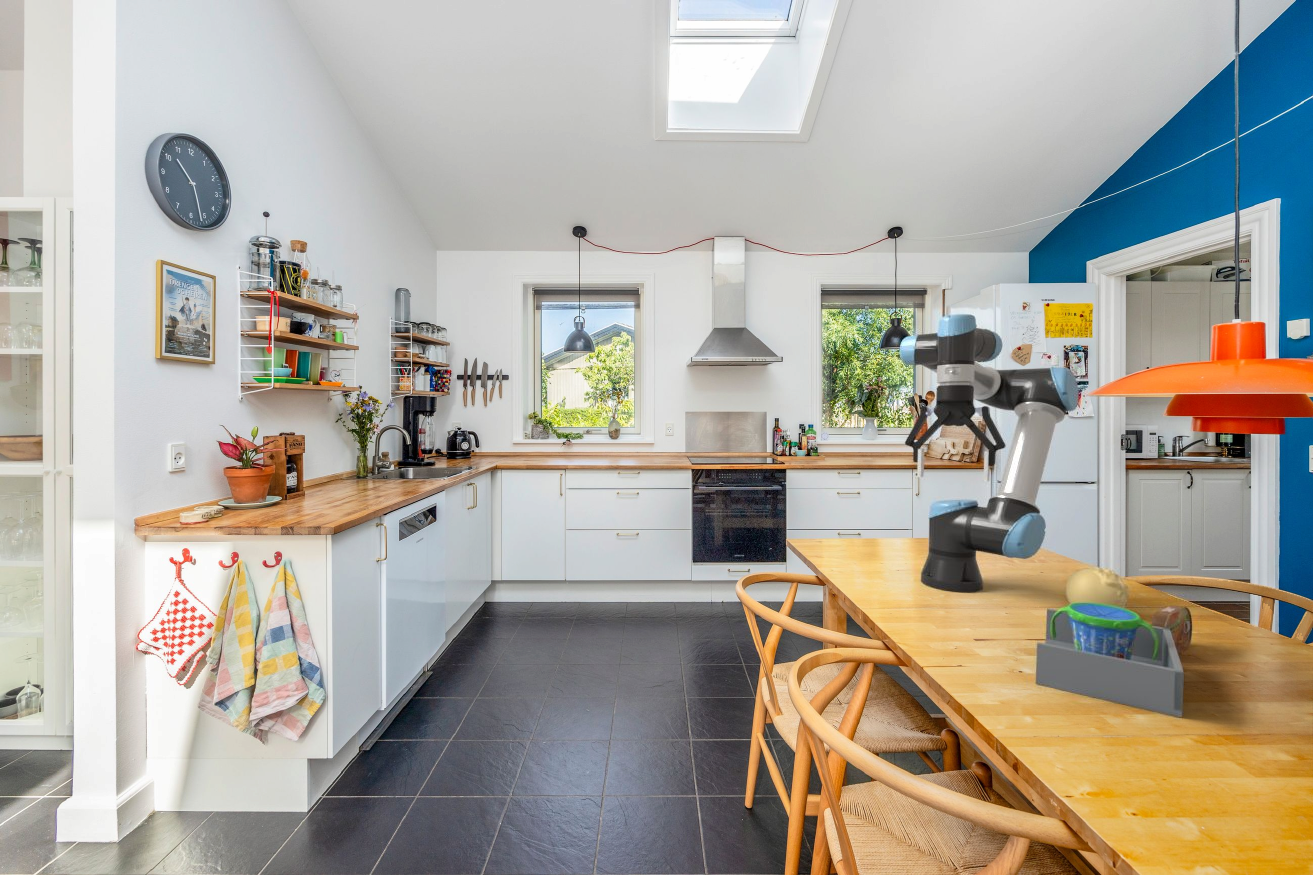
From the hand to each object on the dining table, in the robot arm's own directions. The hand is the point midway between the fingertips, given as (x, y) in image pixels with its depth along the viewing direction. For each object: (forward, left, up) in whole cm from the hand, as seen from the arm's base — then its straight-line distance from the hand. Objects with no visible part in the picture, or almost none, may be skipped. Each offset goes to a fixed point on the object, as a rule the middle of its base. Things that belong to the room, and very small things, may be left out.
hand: (952, 479), depth 136 cm
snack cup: (+15, +28, -31) cm, 44 cm away
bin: (+16, +29, -32) cm, 46 cm away
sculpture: (-26, +27, -32) cm, 49 cm away
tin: (-6, +39, -32) cm, 51 cm away
